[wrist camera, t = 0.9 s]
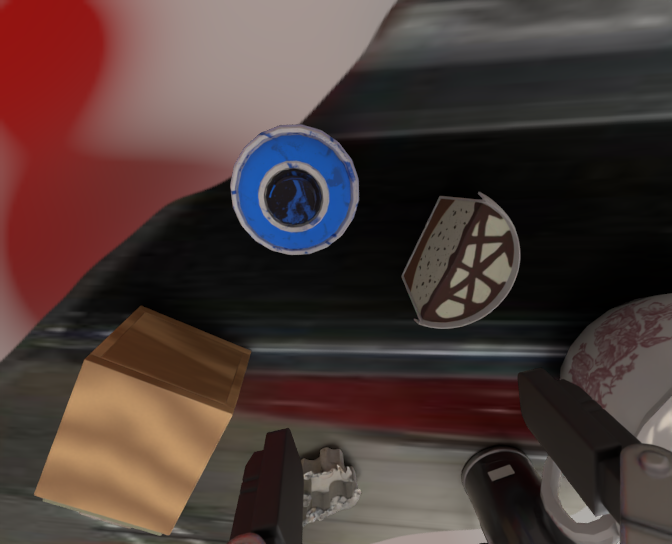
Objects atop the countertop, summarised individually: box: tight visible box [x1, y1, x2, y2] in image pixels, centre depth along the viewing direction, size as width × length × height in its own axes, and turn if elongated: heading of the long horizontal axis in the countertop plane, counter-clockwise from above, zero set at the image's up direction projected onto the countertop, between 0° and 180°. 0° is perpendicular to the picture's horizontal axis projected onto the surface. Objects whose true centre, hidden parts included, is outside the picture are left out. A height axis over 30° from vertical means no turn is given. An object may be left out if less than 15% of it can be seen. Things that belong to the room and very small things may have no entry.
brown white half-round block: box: [401, 192, 520, 329], centre depth 36 cm, size 12×6×10 cm, turn 158°
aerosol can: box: [230, 124, 359, 255], centre depth 28 cm, size 8×8×20 cm
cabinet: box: [34, 306, 251, 535], centre depth 39 cm, size 16×13×11 cm
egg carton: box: [301, 447, 362, 526], centre depth 48 cm, size 11×8×4 cm
